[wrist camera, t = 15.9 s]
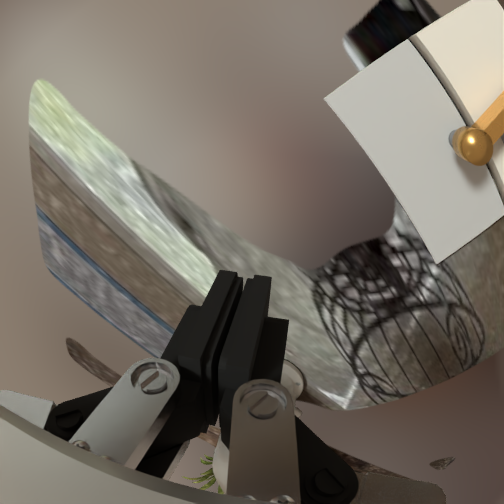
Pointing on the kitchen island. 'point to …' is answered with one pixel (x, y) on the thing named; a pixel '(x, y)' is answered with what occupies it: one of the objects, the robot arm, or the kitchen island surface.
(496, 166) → the door mock-up
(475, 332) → the kitchen island surface
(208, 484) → the house plant
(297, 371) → the robot arm
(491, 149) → the latch bar
